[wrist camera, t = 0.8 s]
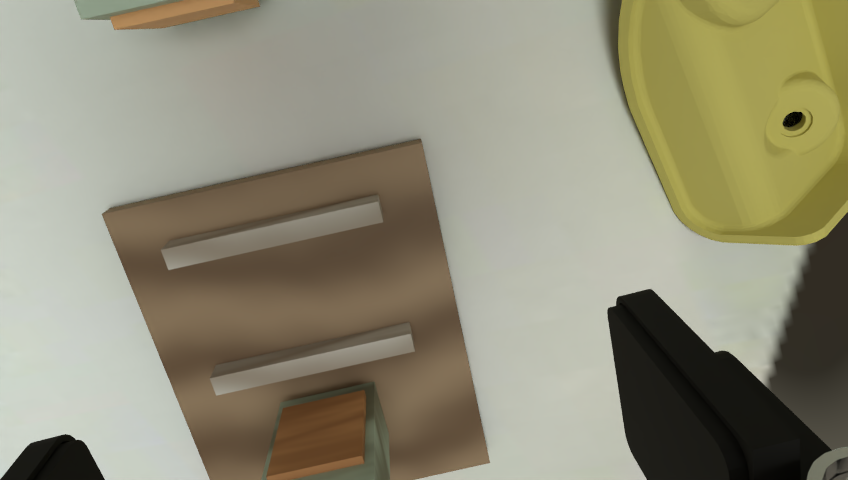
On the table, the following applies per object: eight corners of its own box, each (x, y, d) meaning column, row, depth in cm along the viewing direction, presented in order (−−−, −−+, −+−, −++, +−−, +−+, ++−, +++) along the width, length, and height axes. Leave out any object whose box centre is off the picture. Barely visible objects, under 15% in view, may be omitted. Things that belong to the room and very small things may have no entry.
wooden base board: (110, 208, 35) (11, 277, 26) (420, 139, 35) (437, 182, 26) (231, 508, 43) (188, 649, 33) (486, 451, 43) (519, 575, 33)
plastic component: (901, 149, 35) (805, 259, 32) (775, 148, 42) (685, 240, 39) (813, -225, 27) (676, -125, 24) (675, -155, 34) (553, -69, 31)
